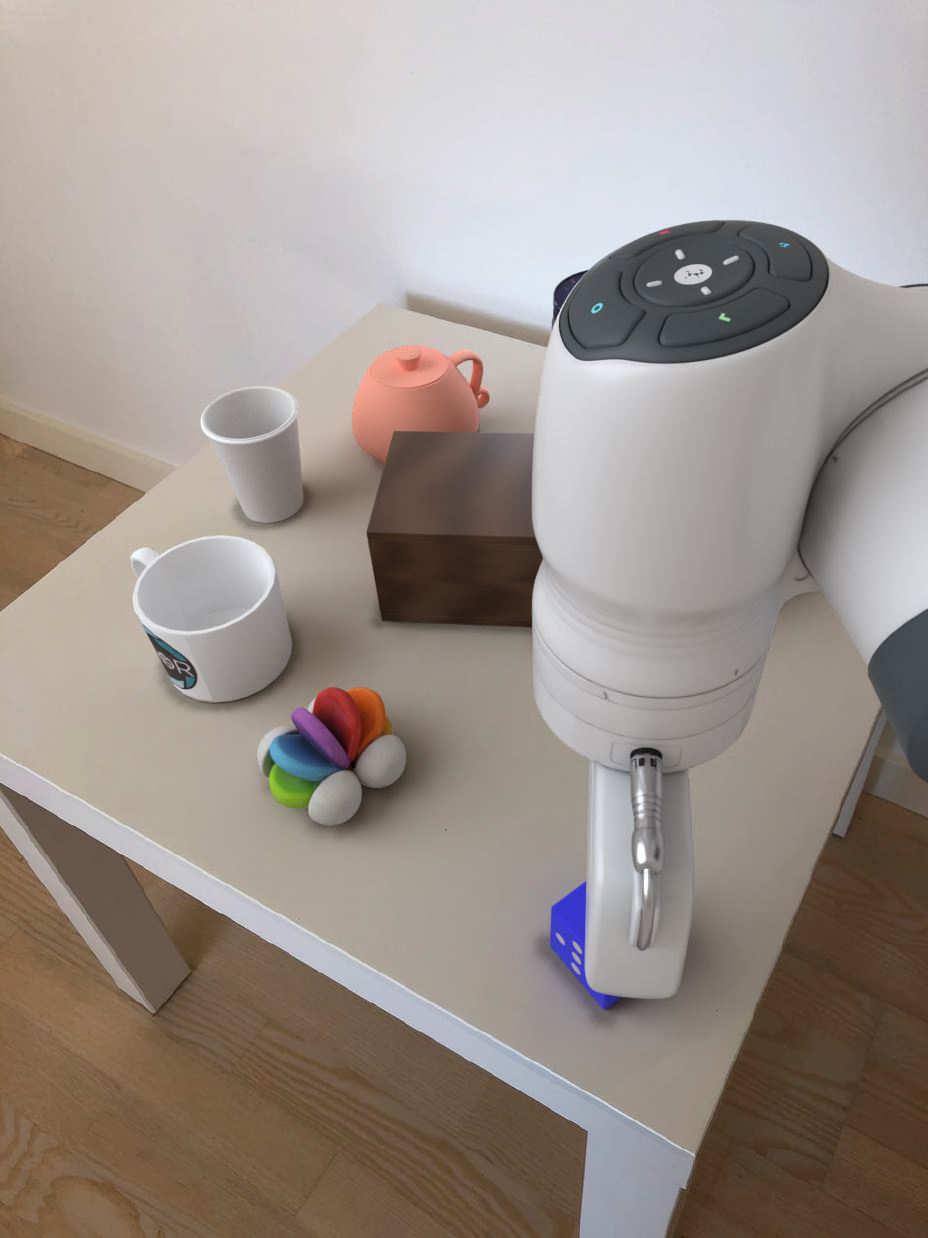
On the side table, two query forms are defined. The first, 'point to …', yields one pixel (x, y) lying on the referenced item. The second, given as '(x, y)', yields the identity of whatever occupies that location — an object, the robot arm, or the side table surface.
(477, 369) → the sugar bowl
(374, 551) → the cabinet
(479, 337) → the side table surface
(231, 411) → the dixie cup
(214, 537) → the mug
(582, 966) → the die
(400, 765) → the rainbow petal toy
